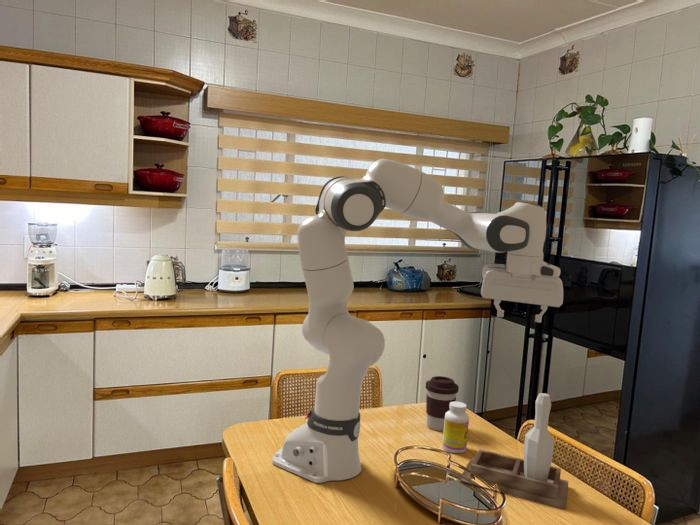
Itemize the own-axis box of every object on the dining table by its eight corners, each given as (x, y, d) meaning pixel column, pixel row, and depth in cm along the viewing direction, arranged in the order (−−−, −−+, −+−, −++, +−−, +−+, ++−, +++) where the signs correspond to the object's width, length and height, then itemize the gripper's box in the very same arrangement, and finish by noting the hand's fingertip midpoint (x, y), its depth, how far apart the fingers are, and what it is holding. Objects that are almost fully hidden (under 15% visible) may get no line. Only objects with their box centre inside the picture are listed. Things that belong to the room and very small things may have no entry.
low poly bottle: (515, 477, 135) (524, 390, 133) (537, 475, 137) (546, 389, 135) (532, 490, 129) (542, 400, 127) (554, 487, 132) (564, 398, 129)
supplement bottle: (466, 455, 150) (470, 410, 148) (441, 452, 151) (445, 406, 150) (466, 445, 156) (470, 401, 155) (442, 442, 158) (446, 398, 156)
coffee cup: (417, 421, 172) (420, 374, 170) (445, 419, 175) (449, 373, 173) (430, 434, 162) (435, 385, 161) (460, 432, 166) (465, 384, 164)
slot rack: (460, 481, 135) (462, 464, 134) (471, 462, 146) (472, 446, 145) (565, 509, 125) (567, 490, 125) (567, 486, 136) (569, 469, 136)
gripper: (480, 263, 142) (476, 315, 144) (565, 271, 134) (559, 327, 135) (485, 261, 148) (480, 312, 149) (566, 269, 140) (561, 323, 141)
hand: (518, 319), depth 142 cm, fingers open, 8 cm apart
